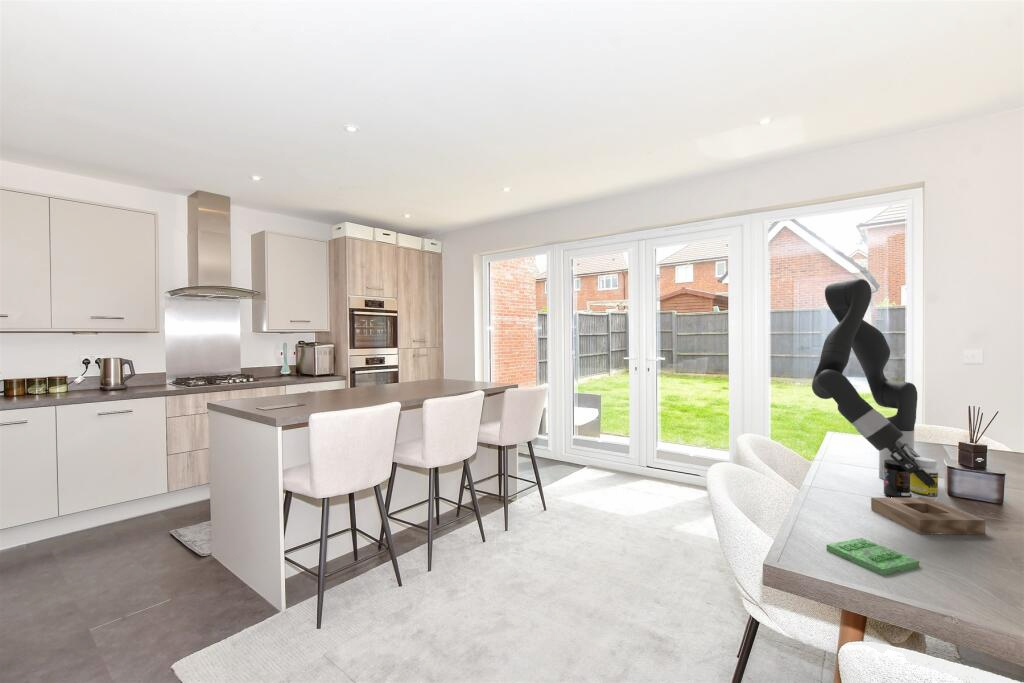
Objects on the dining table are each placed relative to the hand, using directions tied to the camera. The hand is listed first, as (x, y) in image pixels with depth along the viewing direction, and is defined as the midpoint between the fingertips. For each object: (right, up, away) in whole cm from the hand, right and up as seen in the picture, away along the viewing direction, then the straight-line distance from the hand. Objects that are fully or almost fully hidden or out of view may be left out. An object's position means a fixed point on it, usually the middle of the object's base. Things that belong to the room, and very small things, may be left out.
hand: (933, 481), depth 123 cm
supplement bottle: (-1, -4, +1) cm, 5 cm away
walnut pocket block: (-1, -11, +1) cm, 11 cm away
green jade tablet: (-30, -12, -19) cm, 38 cm away
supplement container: (+7, -11, +20) cm, 24 cm away
